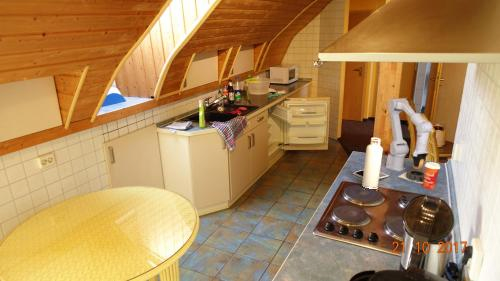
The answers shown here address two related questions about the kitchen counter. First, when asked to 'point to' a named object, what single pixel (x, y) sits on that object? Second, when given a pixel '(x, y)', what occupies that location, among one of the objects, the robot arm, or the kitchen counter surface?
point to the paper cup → (430, 175)
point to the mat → (406, 178)
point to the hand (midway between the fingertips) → (418, 165)
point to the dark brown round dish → (415, 175)
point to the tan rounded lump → (419, 165)
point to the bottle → (372, 164)
